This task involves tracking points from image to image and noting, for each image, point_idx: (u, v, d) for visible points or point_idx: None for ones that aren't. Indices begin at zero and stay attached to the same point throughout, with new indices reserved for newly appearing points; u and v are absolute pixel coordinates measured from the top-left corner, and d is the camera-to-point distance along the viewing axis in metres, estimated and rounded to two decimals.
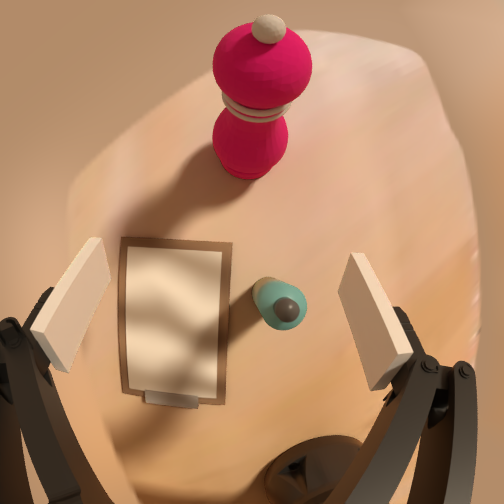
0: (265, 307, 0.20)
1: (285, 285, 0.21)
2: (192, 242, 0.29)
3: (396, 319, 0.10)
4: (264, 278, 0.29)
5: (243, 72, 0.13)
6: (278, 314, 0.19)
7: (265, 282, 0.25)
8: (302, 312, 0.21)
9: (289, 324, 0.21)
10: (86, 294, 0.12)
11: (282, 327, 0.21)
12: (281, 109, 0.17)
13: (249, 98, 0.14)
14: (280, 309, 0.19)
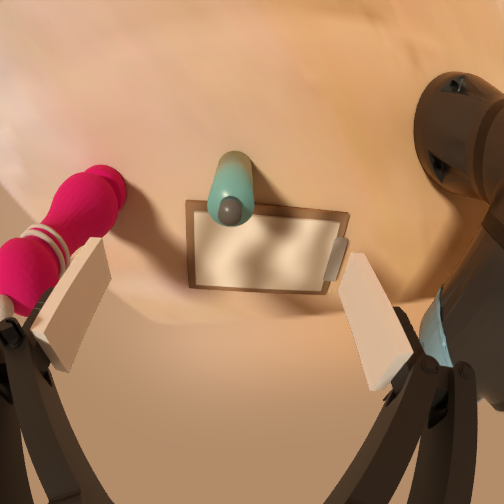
0: None
1: (208, 205, 0.20)
2: (188, 235, 0.32)
3: (396, 319, 0.10)
4: None
5: None
6: (232, 224, 0.20)
7: None
8: (236, 188, 0.20)
9: (248, 201, 0.20)
10: (86, 294, 0.12)
11: (251, 208, 0.21)
12: (51, 242, 0.17)
13: None
14: (227, 222, 0.20)
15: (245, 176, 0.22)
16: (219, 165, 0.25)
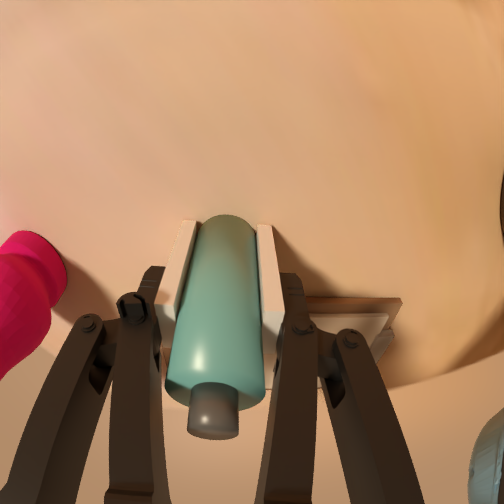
0: None
1: (167, 388, 0.09)
2: None
3: (277, 281, 0.12)
4: None
5: None
6: (220, 439, 0.08)
7: None
8: (225, 372, 0.08)
9: (253, 388, 0.09)
10: None
11: (258, 395, 0.09)
12: None
13: None
14: (210, 437, 0.08)
15: (245, 311, 0.10)
16: (194, 256, 0.13)
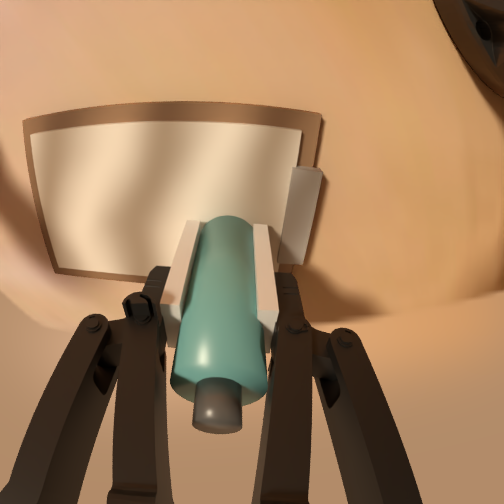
0: None
1: (172, 383, 0.09)
2: (32, 178, 0.14)
3: (272, 280, 0.12)
4: None
5: None
6: (224, 433, 0.08)
7: None
8: (230, 367, 0.08)
9: (256, 383, 0.09)
10: None
11: (261, 391, 0.09)
12: None
13: None
14: (213, 431, 0.08)
15: (249, 309, 0.11)
16: (198, 255, 0.14)
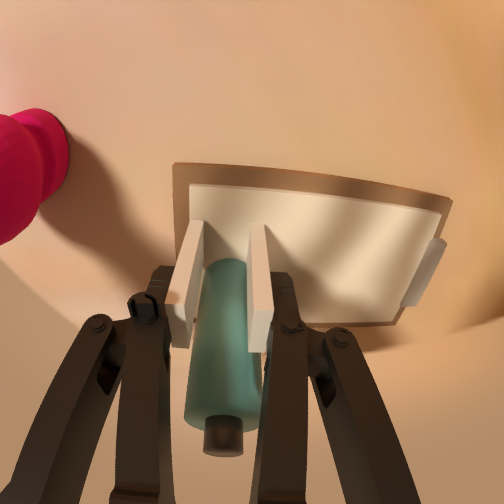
0: None
1: (190, 424, 0.11)
2: (177, 231, 0.17)
3: (268, 279, 0.12)
4: None
5: None
6: (235, 456, 0.10)
7: None
8: (217, 408, 0.10)
9: (248, 414, 0.10)
10: (197, 272, 0.14)
11: (257, 418, 0.10)
12: None
13: None
14: (226, 456, 0.10)
15: (233, 352, 0.12)
16: (198, 308, 0.16)
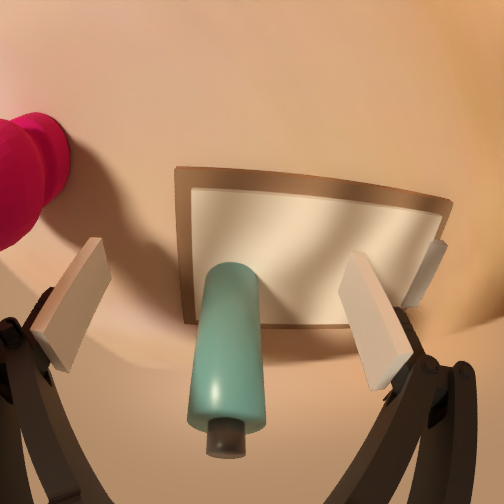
0: None
1: (193, 426, 0.11)
2: (179, 234, 0.17)
3: (396, 319, 0.10)
4: None
5: None
6: (237, 457, 0.10)
7: None
8: (219, 411, 0.10)
9: (250, 416, 0.10)
10: (86, 294, 0.12)
11: (259, 420, 0.10)
12: None
13: None
14: (229, 457, 0.10)
15: (235, 355, 0.12)
16: (200, 312, 0.16)
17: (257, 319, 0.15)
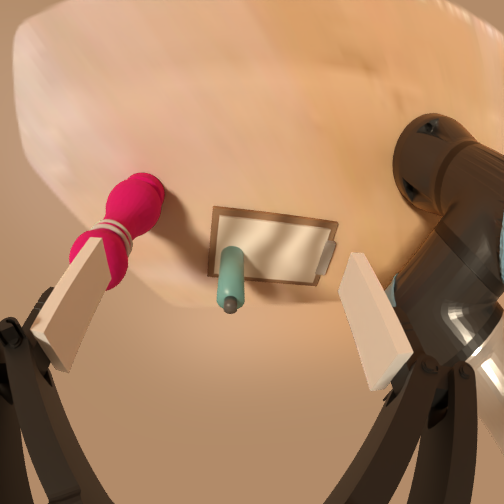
0: None
1: (218, 303, 0.35)
2: (212, 233, 0.41)
3: (396, 319, 0.10)
4: None
5: (114, 283, 0.24)
6: (233, 312, 0.34)
7: None
8: (229, 291, 0.34)
9: (239, 295, 0.34)
10: (86, 294, 0.12)
11: (242, 298, 0.35)
12: (122, 234, 0.26)
13: (125, 270, 0.25)
14: (231, 312, 0.34)
15: (234, 276, 0.36)
16: (220, 265, 0.40)
17: (242, 267, 0.39)
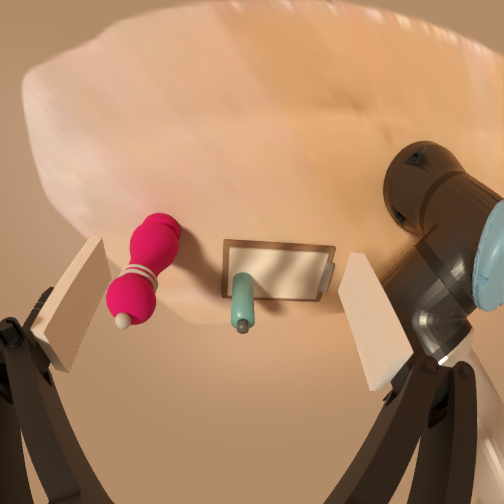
0: None
1: (232, 324, 0.41)
2: (224, 262, 0.47)
3: (396, 319, 0.10)
4: None
5: (146, 318, 0.30)
6: (246, 332, 0.40)
7: None
8: (241, 315, 0.40)
9: (249, 318, 0.40)
10: (86, 294, 0.12)
11: (252, 320, 0.40)
12: (149, 277, 0.32)
13: (154, 307, 0.31)
14: (243, 332, 0.40)
15: (245, 301, 0.42)
16: (232, 290, 0.46)
17: (252, 292, 0.45)
